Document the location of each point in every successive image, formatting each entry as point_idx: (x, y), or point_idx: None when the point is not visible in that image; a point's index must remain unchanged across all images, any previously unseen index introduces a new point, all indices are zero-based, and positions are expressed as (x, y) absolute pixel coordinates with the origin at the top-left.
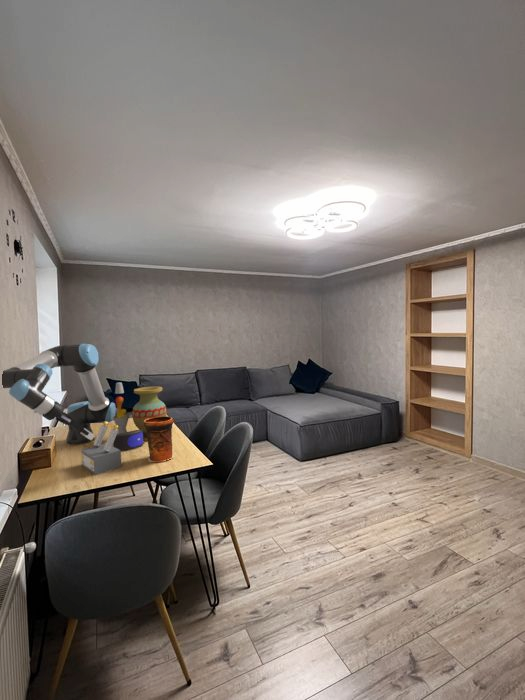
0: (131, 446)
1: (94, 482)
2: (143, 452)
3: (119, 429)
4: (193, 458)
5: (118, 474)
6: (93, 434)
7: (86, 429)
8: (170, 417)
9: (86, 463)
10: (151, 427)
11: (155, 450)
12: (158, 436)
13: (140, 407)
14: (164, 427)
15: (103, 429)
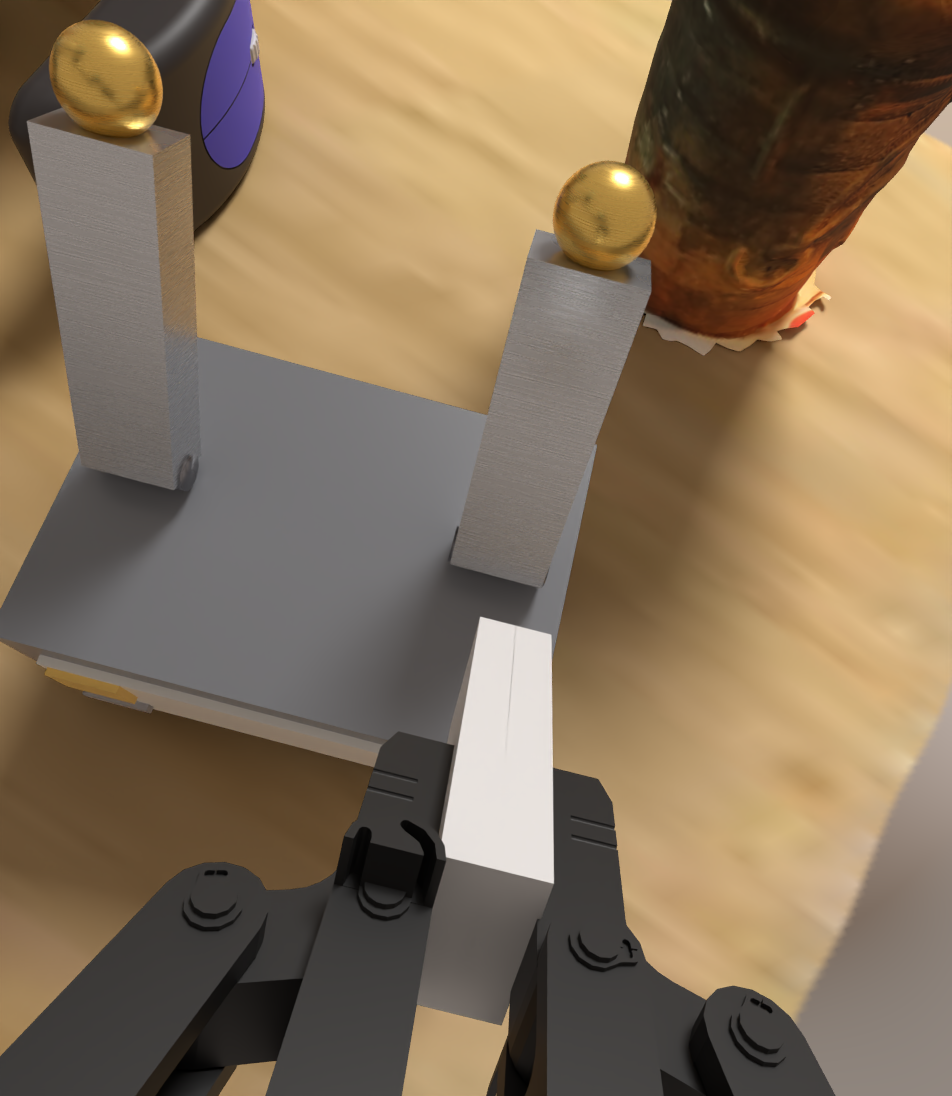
0: (236, 159)
1: (673, 933)
2: (424, 206)
3: None
4: (947, 192)
5: (704, 675)
6: (546, 663)
7: (549, 806)
8: None
9: (247, 730)
10: None
11: (809, 262)
12: (933, 120)
13: None
14: None
15: (166, 231)
